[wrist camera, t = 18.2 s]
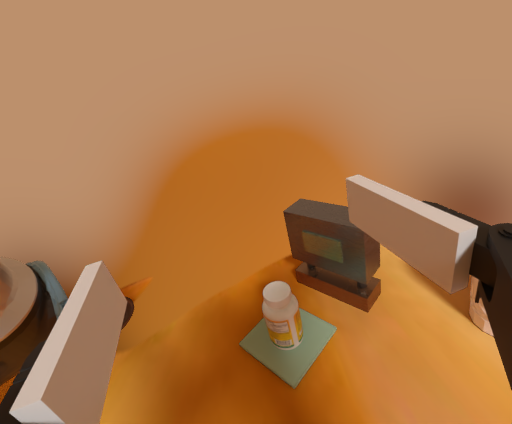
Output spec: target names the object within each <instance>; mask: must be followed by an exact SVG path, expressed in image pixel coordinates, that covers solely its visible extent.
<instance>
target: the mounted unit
mask: <svg viewBox="0 0 512 424" xmlns="http://www.w3.org/2000/svg"><path fill="white" fill-rule="evenodd" d="M284 217H285V222H286V227H287V231H288V237H289V241H290V246H291V251H292V256H293V258H295V259H298V260H300V261H303V263H302V264H301V265H300V266H299V267H298V268H297V269H296V270H295V271H296V276H297V281H298V282H299V283H302V284H304V285H306V286H309V287H311V288H313V289H315V290H318V291H320V292H322V293H324V294H327V295H329V296H331V297H334V298H336V299H338V300H340V301H343V302H345V303H347V304H349V305H352V306H354V307H356V308H358V309H361V310H363V311H365V312H369V310H370V309H371V307H372V306H373V304H374V302H375V301H376V299H377V298H378V296H379V295H380V293H381V283H380V279H377V278H374V277H372V276H373V275H374V274H375V272H376V271H377V269H378V268H379V267H380V243H379V242H377V241H376V240H375V239H373V238H372V237H371V236H369V235H368V234H366V233H365V232H364V231H362V230H361V229H359V228H358V227H357V226H355V225H354V224H352V223H351V222H350V221H349V212H348V207H346V206H340V205H334V204H328V203H323V202H317V201H311V200H305V199H299V200H298V201H297V202H295V203H294V204H293V205H291V206H290V207H289V208H287V209H286V210H285V211H284Z"/></svg>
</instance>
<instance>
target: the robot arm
mask: <svg viewBox="0 0 512 424" xmlns="http://www.w3.org/2000/svg"><path fill="white" fill-rule="evenodd" d="M346 187H347V199H348V212H349V221H350V222H351V223H352V224H354V225H355V226H357V227H358V228H359V229H361V230H362V231H364V232H365V233H366V234H368V235H369V236H371V237H372V238H373V239H375V240H376V241H377V242H379V243H380V244H382V245H383V246H384V247H386V248H387V249H389V250H390V251H391V252H393V253H394V254H395V255H397V256H398V257H400V258H401V259H402V260H404V261H405V262H407V263H408V264H409V265H411V266H412V267H414V268H415V269H416V270H418V271H419V272H420V273H422V274H423V275H425V276H426V277H427V278H429V279H430V280H432V281H433V282H434V283H436V284H437V285H438V286H440V287H441V288H443V289H444V290H445V291H447V292H448V293H450V294H453V293H455V292H457V291H459V290H462V289H464V288H466V287H467V286H468V281H469V275H472V276H473V277H475V278H477V279H478V280H479V281H478V286H477V291H476V296H475V303H479V299H480V298H481V299H482V302H483V305H484V308H485V311H486V314H487V317H488V320H489V323H490V326H491V329H492V332H493V335H494V338H495V341H496V344H497V347H498V350H499V353H500V356H501V359H502V362H503V365H504V368H505V372H506V375H507V378H508V381H509V384H510V387H511V390H512V224H510V223H504V224H497V225H493V226H490V225H488V224H486V223H483V222H481V221H478V220H476V219H473V218H471V217H468V216H466V215H464V214H461V213H457V212H456V211H454V210H452V209H448V208H447V207H444V206H442V205H439V204H437V203H432V202H427V201H419V200H416V199H414V198H412V197H409V196H407V195H405V194H402V193H400V192H398V191H395V190H393V189H391V188H389V187H386V186H384V185H382V184H379V183H377V182H375V181H372V180H370V179H368V178H365V177H363V176H361V175H355V176H352V177H349V178H346ZM126 306H127V300H126V298H125V297H124V295H123V293H122V292H121V290H120V289H119V287H118V285H117V284H116V282H115V280H114V279H113V277H112V275H111V274H110V272H109V270H108V269H107V267H106V266H105V264H104V262H103V261H99V262H96V263H93V264H90V265H87V266H85V268H84V270H83V272H82V274H81V276H80V278H79V280H78V282H77V284H76V286H75V288H74V289H73V291H72V293H71V295H70V297H69V299H68V298H67V296H66V294H65V292H64V290H63V288H62V287H61V285H60V283H59V282H58V281H57V279H56V277H55V276H54V274H53V273H52V271H51V270H50V268H49V267H48V266H47V265H46V264H45V263H44V262H43V261H34V262H32V263H27V264H24V263H22V262H21V261H18V260H16V259H12V258H6V257H0V386H1V385H2V384H4V383H5V382H7V381H8V380H10V379H11V378H13V377H14V376H15V375H17V376H16V378H15V379H14V381H13V385H12V386H10V388H9V390H8V392H7V393H6V395H5V397H4V399H3V400H2V402H1V404H0V424H99V423H100V419H101V414H102V410H103V406H104V401H105V397H106V393H107V388H108V384H109V380H110V375H111V371H112V367H113V362H114V358H115V354H116V349H117V345H118V340H119V336H120V331H121V328H122V323H123V319H124V314H125V310H126Z"/></svg>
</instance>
